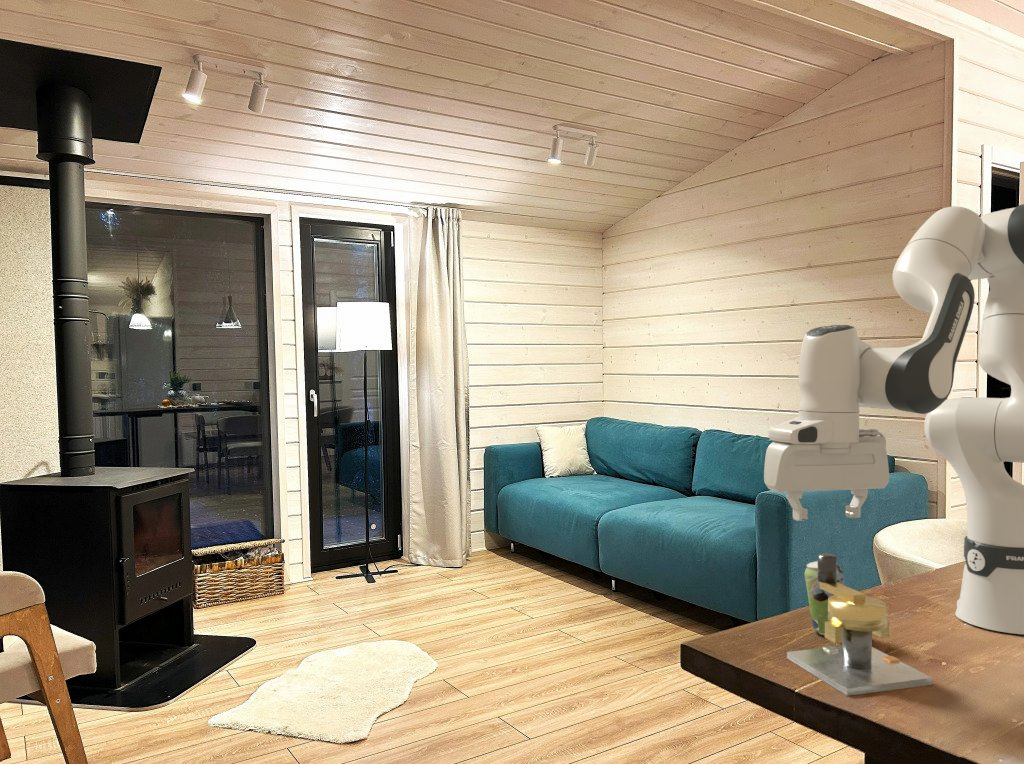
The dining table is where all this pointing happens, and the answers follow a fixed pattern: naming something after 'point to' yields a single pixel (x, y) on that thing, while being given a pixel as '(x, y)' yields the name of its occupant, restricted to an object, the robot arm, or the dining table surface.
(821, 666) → the post plate
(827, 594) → the beverage can
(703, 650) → the dining table surface
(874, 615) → the brass crank handle
